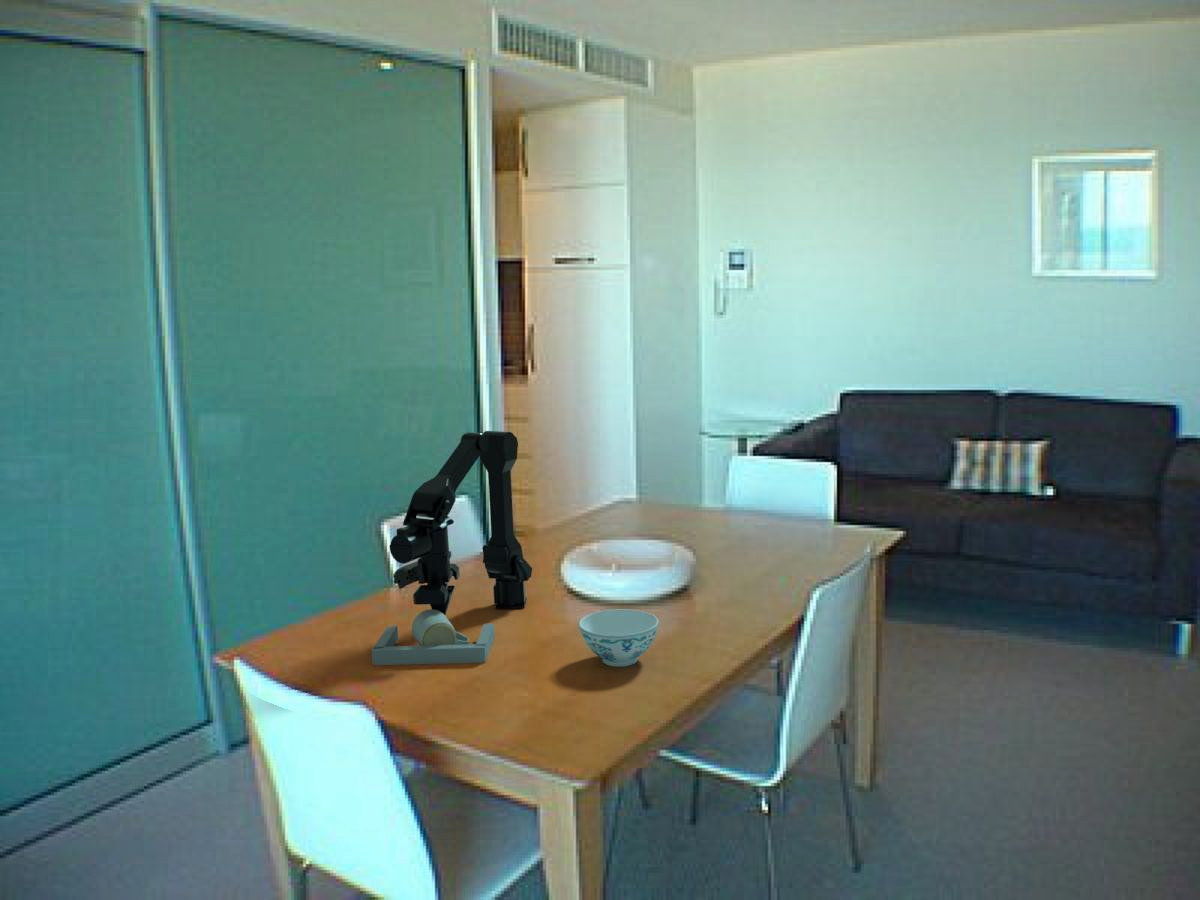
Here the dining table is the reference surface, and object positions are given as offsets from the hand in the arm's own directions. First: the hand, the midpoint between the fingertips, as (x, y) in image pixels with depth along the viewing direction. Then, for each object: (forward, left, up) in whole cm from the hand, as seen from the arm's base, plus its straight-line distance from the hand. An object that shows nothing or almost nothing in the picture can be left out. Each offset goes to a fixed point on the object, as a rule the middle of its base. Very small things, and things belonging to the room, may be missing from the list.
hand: (440, 623), depth 222 cm
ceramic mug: (-1, +6, -4) cm, 7 cm away
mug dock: (0, +6, -4) cm, 7 cm away
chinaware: (-37, +14, -4) cm, 40 cm away
